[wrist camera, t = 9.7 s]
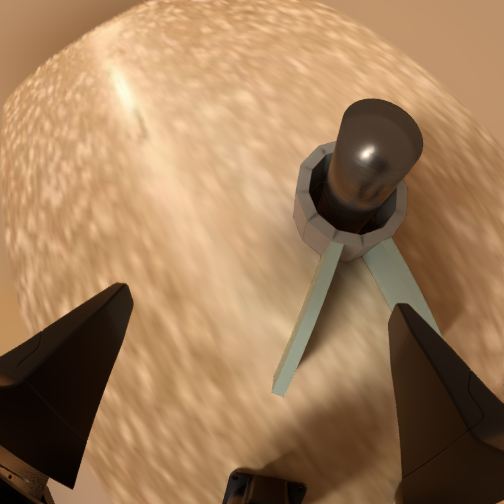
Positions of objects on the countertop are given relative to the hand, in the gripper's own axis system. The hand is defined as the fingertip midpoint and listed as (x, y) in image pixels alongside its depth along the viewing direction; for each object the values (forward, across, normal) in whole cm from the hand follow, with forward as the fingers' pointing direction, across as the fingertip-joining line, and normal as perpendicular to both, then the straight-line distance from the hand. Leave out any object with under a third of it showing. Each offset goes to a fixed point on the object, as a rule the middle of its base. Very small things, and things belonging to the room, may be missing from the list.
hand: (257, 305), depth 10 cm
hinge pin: (+15, -5, +4) cm, 17 cm away
